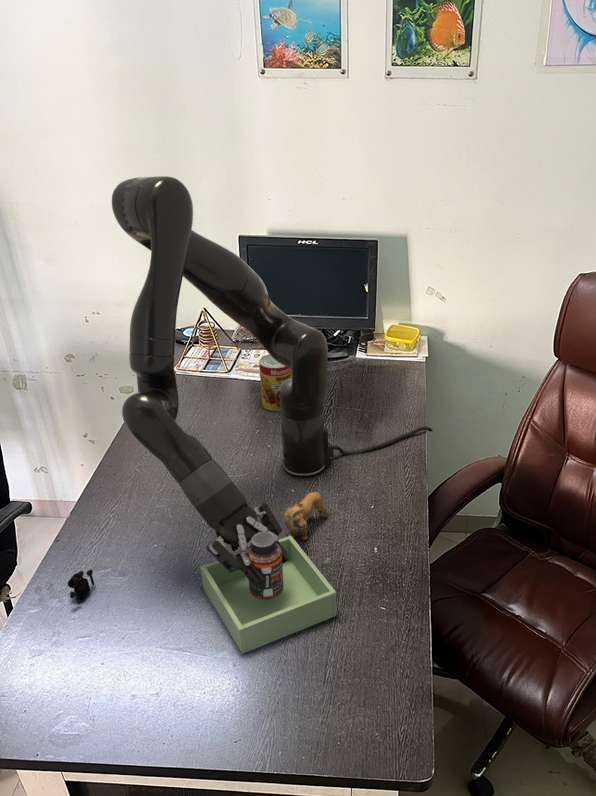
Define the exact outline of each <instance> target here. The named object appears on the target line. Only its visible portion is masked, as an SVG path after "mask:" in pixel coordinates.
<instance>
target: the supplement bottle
mask: <svg viewBox="0 0 596 796" xmlns="http://www.w3.org/2000/svg"><path fill="white" fill-rule="evenodd" d="M248 555H249V559H250V564H251V563H253V564H254V565H255V567H256V568H257V569H258V571H259V572H260V573H261V575H262V576H263V577H264V578H265V581H264V582H263V583H262V584H260V585H258V586H257V585H255V584H252V583H251V582H250V581H249V589H250V593H251V594H252V595H253V596H254V597H256V598H258V599H262V600H268V599H273V598H275V597H277V596H278V595H280V594H281V592H282V591H283V566H282V550H281V548H280V546H279V545H278V544H277V543H276V541H275V537H274V535H272V534H271V533H267V532H261V533H257V534H255V535H254V536H253V537H252V539H251V540H250V545H249V546H248ZM248 580H249V579H248Z"/></svg>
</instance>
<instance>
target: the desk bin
mask: <svg viewBox="0 0 596 796" xmlns="http://www.w3.org/2000/svg"><path fill="white" fill-rule="evenodd" d="M278 541H279V542H280V544H281V545H282V546H283V548H284V549H285V550H286V552H287V553H288V557H289V559H288V560H287V561H286V562H285V563H283V564H282V566H283V591H282V592H281V594H280V595H278V596H277V597H275V598H273V599H268V600H262V599H258V598H256V597H254V596H253V595H252V594H251V593H250V589H249V580H248V578H247V577H246V576H245V574H244V573H243V572H242V571H241V570H237V571H234V572H231V573H230V572H229V571H228V570H227V569H226V568H225V567H224V566H223V565H222V564H221V563H220V562H219V561H218V560H216V561H212V562H209V563H206V564H204V565H200V574H201V581H202V586H203V591H204V592H205V594H206V596H207V598H208V599H209V601H210V602H211V604H212V606H213V608H214V609H215V611H216V613H217V614H218V616H219V618H220V620H221V621H222V622H223V625H224V626H225V627H226V630H227V631H228V633H229V634H230V636H231V638H232V640H233V641H234V643H235V645H236V647H237V648H238V649H239V651H240V653H241V654H242V655H244V654H246V653H248V652H251V651H253V650H255V649H258V648H260V647H263V646H265V645H268V644H271V643H273V642H275V641H278V640H280V639H283V638H285V637H288V636H290V635H293V634H295V633H298V632H300V631H303V630H305V629H308V628H310V627H312V626H315V625H318V624H320V623H322V622H325V621H327V620H329V619H332V618H335V617H337V591H336V590H335V589H334V587H333V586H332V585H331V584H330V582H329V581H328V580H327V579H326V577H325V576H324V575H323V574H322V572H321V571H320V570H319V569H318V568H317V566H316V565H315V563H314V562H313V561H312V560H311V559H310V557H309V556H308V555H307V554H306V552H305V551H304V550H303V548H301V546H300V545H299V544H298V542H297V541H296V539H294V538H293V537H292V536H285V537H282V538H280V539H279V538H278Z"/></svg>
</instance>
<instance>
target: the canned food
mask: <svg viewBox="0 0 596 796" xmlns="http://www.w3.org/2000/svg"><path fill="white" fill-rule="evenodd" d="M258 366H259V378H260V392H261V405H262V408H264V409H266V410H267V411H272V412H280V397H279V388H280V385H281V384H282V383H283V382H284V381H285V380H287V379H290V378H292V369H291V368H289V367H286V366H284V365H282V364H281V363H279V362H277V361H276V360H275V359H274V358H273V357H272V356H271V355H270V354H269V353H268V354H265V355H263V356H261V357H260V358H259V360H258Z"/></svg>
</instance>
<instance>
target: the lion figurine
mask: <svg viewBox="0 0 596 796" xmlns="http://www.w3.org/2000/svg"><path fill="white" fill-rule="evenodd" d="M315 509H316V510H317V511H320V512H322V513H321V515H320V516H321V518H327V517H328V511H327V510H328V509H327V506H326V505H325V504H324V501H323V497H322V495H321V494H320V492H318V491H312V492H308V493H307V494H306V495H305V496H304V498H303V499H302V500H301V501H300V502H299V503H298V502H297V503H294V504H292V505H289V506H288V507H286V510H285V511H284V516H283V523H284V526H285V527H286V529H287V530H289V533H288V536H292V537H293V539H294V538H295V536H296V532H299V531H301V532H300V536H301V537H300V540H301V541H307V540H308V534H307V528H308V523H307V521H308V520H310V517H311V515H312V513H313V511H314V510H315ZM288 536H287V537H288Z"/></svg>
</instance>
